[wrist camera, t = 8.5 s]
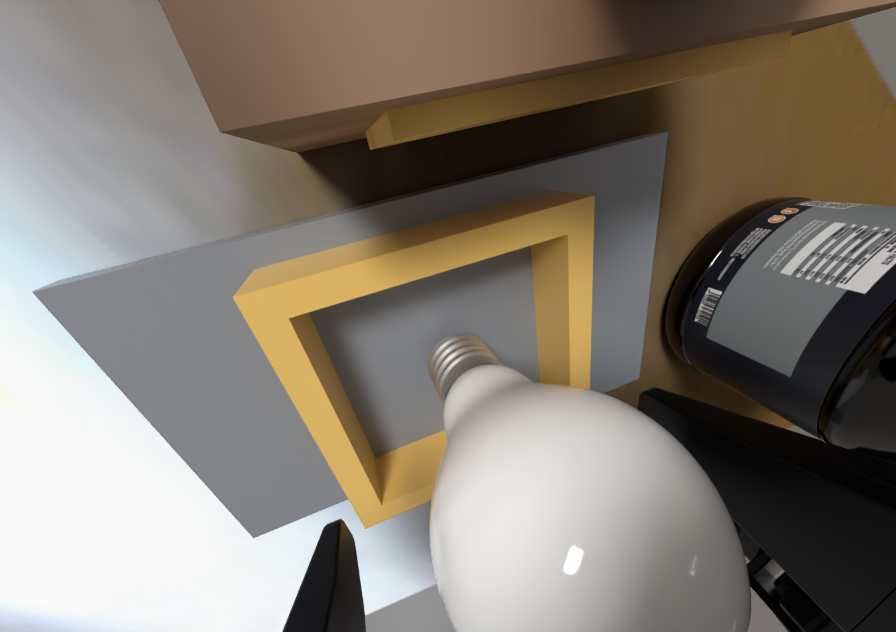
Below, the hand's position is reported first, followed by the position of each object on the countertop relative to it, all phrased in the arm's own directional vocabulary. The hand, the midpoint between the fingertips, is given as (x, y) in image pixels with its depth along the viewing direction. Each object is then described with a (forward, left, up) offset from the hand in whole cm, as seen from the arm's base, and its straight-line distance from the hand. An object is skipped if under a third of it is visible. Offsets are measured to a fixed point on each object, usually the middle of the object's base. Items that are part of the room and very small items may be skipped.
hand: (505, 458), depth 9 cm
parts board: (0, 0, -7) cm, 7 cm away
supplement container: (-18, +3, -7) cm, 20 cm away
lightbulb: (0, 0, -6) cm, 6 cm away
